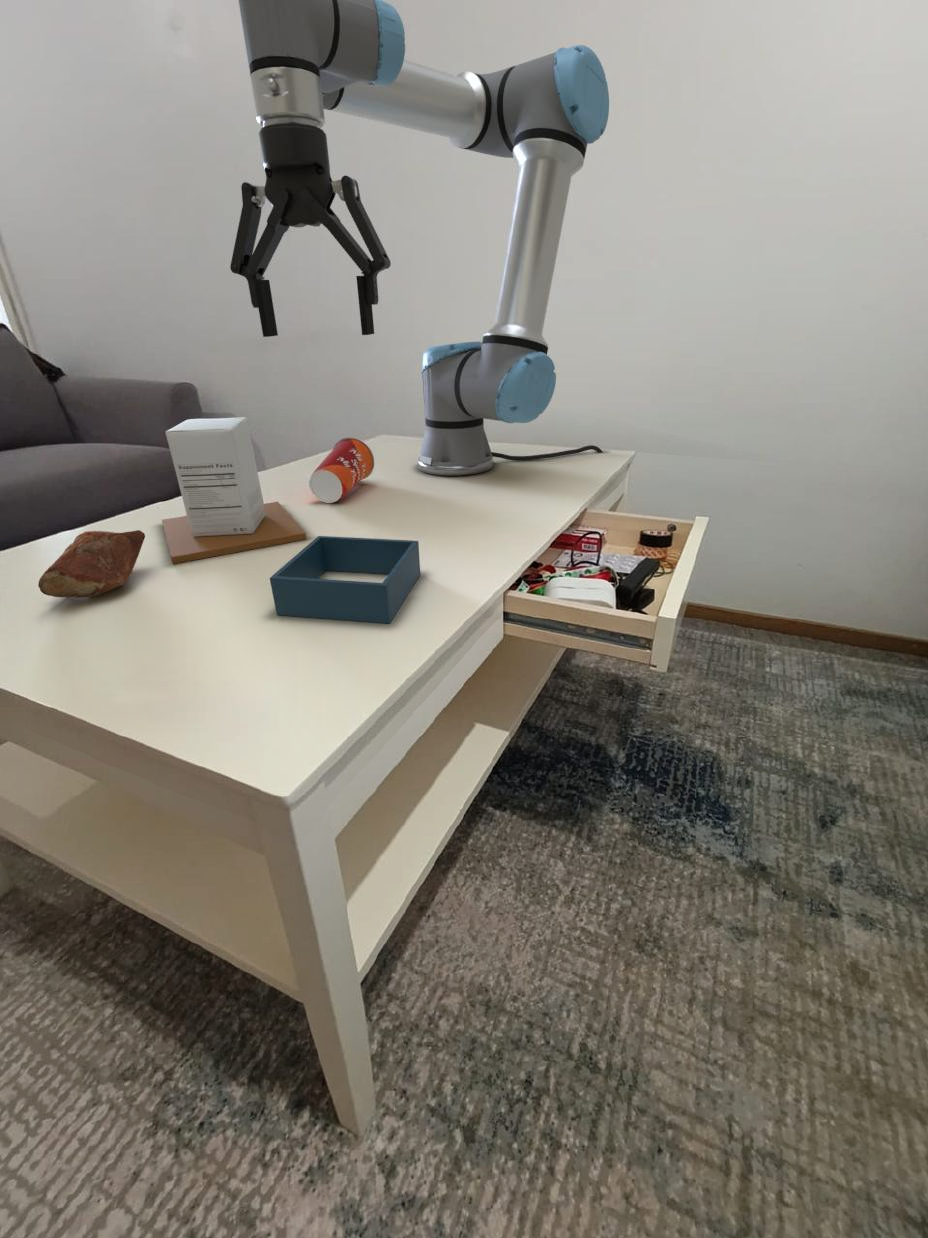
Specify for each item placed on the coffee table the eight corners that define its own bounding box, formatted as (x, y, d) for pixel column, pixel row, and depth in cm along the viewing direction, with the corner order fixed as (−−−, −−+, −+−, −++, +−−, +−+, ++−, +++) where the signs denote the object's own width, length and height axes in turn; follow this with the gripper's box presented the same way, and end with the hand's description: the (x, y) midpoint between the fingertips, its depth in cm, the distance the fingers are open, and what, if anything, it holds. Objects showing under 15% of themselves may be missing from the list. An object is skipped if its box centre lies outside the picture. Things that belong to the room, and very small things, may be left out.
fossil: (143, 535, 78) (107, 486, 69) (180, 574, 76) (148, 529, 67) (53, 593, 73) (1, 549, 64) (89, 637, 71) (41, 597, 62)
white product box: (209, 517, 92) (185, 418, 85) (267, 514, 93) (248, 415, 86) (190, 537, 84) (162, 430, 77) (253, 534, 85) (232, 427, 78)
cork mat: (278, 507, 100) (277, 501, 99) (306, 539, 86) (305, 532, 85) (163, 525, 92) (161, 519, 92) (172, 564, 78) (170, 557, 78)
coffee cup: (345, 463, 96) (373, 435, 108) (298, 462, 97) (331, 434, 110) (352, 511, 101) (379, 478, 113) (307, 509, 102) (338, 477, 114)
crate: (420, 574, 74) (418, 540, 72) (389, 623, 62) (386, 585, 60) (323, 568, 76) (318, 535, 74) (276, 615, 65) (269, 577, 63)
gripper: (173, 128, 66) (216, 338, 76) (387, 109, 61) (402, 335, 72) (210, 143, 72) (245, 335, 82) (406, 127, 68) (418, 331, 78)
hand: (318, 335), depth 77 cm, fingers open, 13 cm apart
